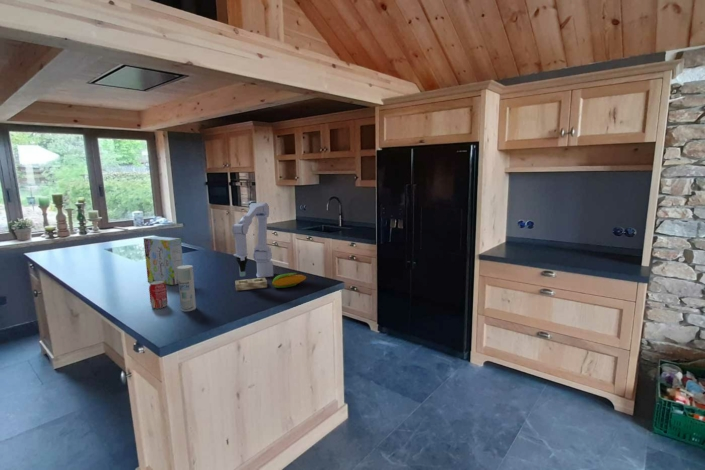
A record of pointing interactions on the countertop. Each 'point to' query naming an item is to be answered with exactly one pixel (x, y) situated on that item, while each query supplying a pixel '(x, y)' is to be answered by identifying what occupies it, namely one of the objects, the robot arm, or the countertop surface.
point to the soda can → (158, 294)
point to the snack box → (163, 259)
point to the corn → (287, 280)
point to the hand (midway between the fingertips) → (242, 270)
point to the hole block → (250, 284)
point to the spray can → (186, 287)
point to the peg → (242, 273)
